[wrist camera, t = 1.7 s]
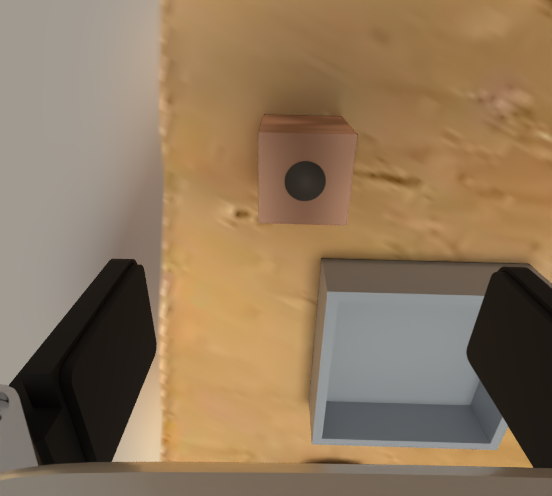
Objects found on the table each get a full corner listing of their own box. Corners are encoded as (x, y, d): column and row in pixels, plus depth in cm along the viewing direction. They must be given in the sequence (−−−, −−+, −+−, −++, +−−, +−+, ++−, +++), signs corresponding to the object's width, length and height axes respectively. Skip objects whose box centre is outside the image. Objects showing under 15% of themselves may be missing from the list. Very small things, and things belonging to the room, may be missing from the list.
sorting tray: (528, 263, 29) (568, 298, 25) (473, 406, 36) (497, 449, 32) (321, 258, 29) (327, 291, 25) (308, 401, 36) (311, 444, 32)
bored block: (341, 116, 24) (357, 134, 19) (334, 190, 26) (347, 225, 21) (264, 114, 24) (258, 132, 19) (263, 188, 26) (258, 223, 21)
